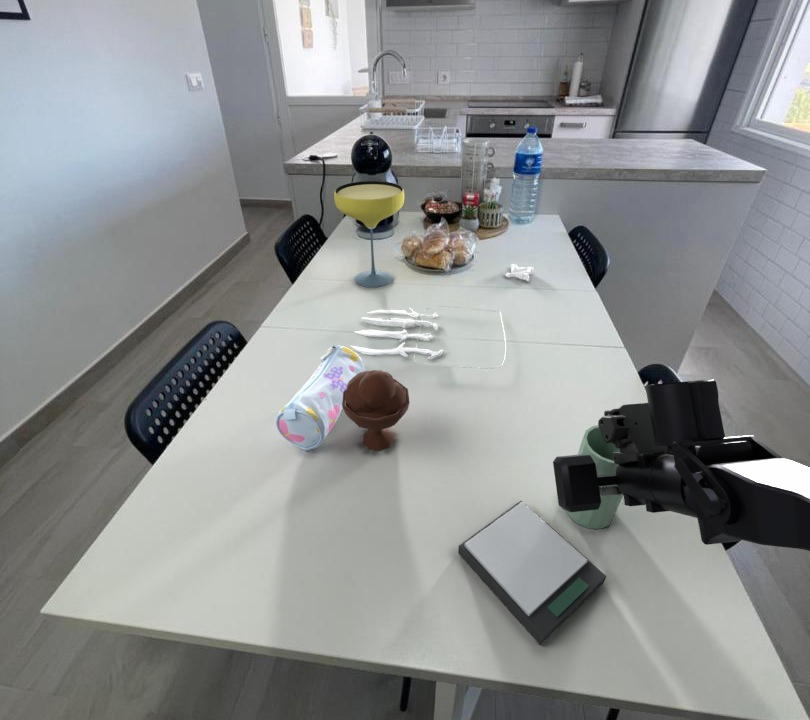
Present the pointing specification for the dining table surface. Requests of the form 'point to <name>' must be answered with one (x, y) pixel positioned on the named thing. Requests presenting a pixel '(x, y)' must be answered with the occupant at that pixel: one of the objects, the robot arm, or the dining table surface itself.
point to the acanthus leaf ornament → (520, 272)
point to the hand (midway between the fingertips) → (599, 470)
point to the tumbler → (604, 466)
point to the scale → (531, 569)
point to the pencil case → (319, 399)
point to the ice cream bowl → (375, 406)
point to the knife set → (404, 334)
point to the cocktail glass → (370, 215)
